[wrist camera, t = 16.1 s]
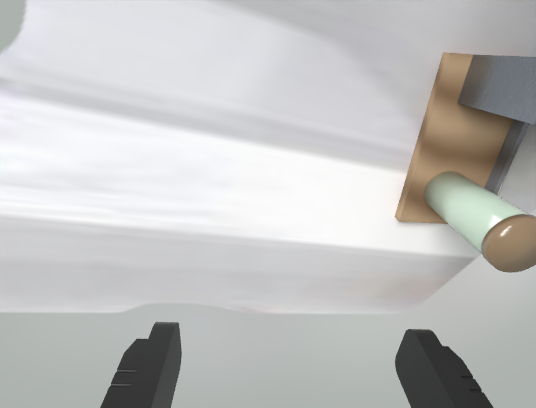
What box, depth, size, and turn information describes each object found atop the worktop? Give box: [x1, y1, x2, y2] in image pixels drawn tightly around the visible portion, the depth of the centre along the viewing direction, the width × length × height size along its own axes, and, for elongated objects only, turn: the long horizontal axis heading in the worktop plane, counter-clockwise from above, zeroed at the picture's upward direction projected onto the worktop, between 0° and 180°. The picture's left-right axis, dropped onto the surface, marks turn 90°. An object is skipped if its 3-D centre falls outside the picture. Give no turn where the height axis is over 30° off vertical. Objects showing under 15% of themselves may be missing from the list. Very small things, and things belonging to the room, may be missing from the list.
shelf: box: [395, 53, 529, 224], centre depth 38 cm, size 21×11×3 cm, turn 176°
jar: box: [424, 171, 536, 272], centre depth 34 cm, size 6×6×13 cm
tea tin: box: [457, 55, 536, 125], centre depth 29 cm, size 5×5×11 cm
